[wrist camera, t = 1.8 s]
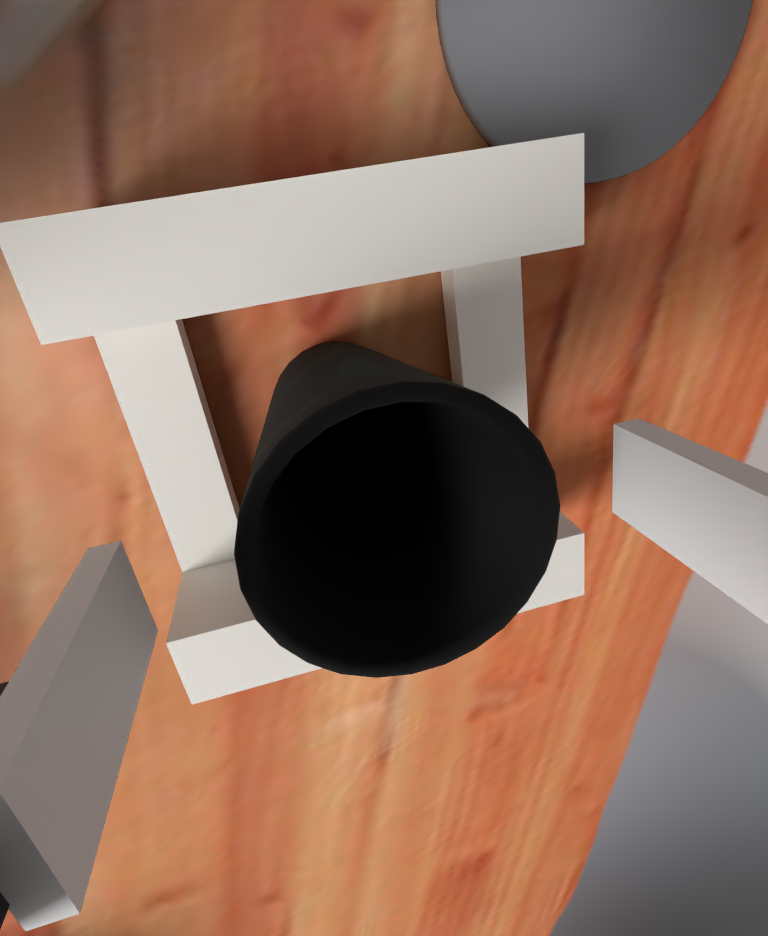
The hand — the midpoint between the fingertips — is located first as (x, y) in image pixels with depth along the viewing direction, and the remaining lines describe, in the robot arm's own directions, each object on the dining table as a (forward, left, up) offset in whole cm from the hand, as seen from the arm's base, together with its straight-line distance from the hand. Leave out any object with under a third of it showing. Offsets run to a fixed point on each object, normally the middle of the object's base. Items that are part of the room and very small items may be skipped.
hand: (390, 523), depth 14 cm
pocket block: (0, 0, -10) cm, 10 cm away
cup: (0, 0, -10) cm, 10 cm away
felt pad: (-13, +12, -10) cm, 21 cm away
